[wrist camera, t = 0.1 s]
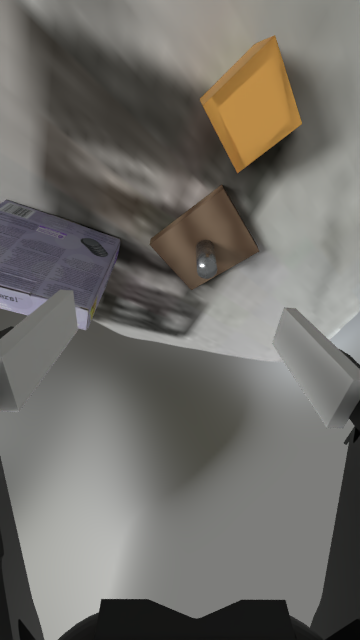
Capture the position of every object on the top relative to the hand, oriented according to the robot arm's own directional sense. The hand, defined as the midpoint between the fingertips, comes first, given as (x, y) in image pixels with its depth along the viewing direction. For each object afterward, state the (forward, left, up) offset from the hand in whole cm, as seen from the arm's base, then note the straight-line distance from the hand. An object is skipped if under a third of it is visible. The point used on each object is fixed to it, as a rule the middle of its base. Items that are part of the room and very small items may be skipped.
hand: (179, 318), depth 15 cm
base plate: (+3, +10, -28) cm, 29 cm away
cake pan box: (+21, -6, -28) cm, 35 cm away
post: (+3, +10, -26) cm, 28 cm away
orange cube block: (-10, -2, -28) cm, 30 cm away
